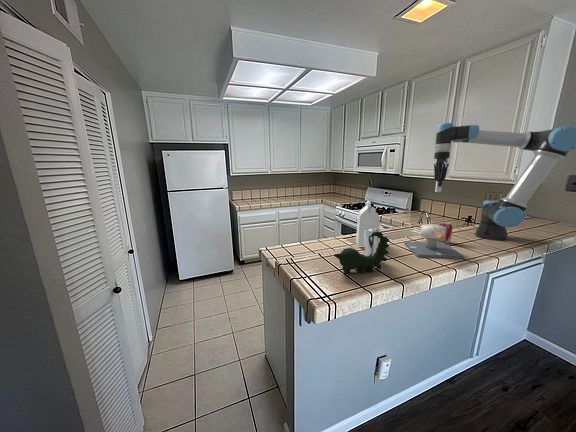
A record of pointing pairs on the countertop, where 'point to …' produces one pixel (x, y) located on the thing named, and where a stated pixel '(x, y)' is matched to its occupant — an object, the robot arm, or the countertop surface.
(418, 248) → the post base
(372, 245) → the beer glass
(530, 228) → the countertop surface
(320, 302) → the countertop surface
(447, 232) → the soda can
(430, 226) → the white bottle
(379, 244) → the toy figurine
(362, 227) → the milk
